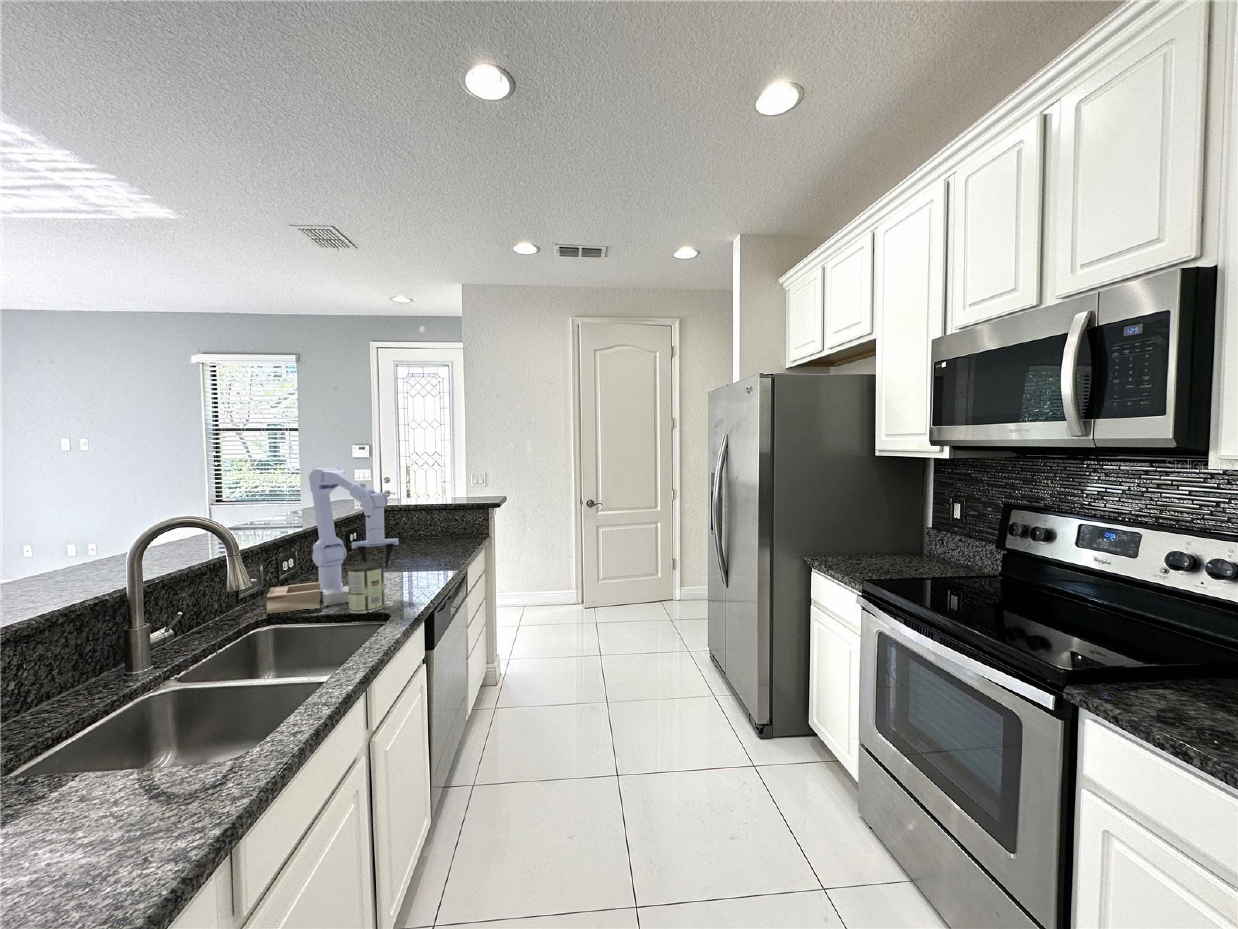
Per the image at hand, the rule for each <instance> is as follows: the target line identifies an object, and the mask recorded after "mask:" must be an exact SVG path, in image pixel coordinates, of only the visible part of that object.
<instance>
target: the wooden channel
mask: <svg viewBox="0 0 1238 929" xmlns="http://www.w3.org/2000/svg"><path fill="white" fill-rule="evenodd" d="M320 600H321V592H320V582H319V581H317V582H308V583H300V584H292V585H284V586H283V585H282V586H275V587H270V588H269V591H268V593H267V596H266V614H267V613H278V612H288V611H295V610H302V609H310V610H316V609H315V608H317V609H320V608H321V604H320V602H321V601H320ZM302 611H303V610H302ZM295 612H296V611H295ZM288 613H289V612H288Z"/></svg>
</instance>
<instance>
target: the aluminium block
mask: <svg viewBox="0 0 1238 929" xmlns="http://www.w3.org/2000/svg"><path fill="white" fill-rule="evenodd" d="M321 594H322V602H324V603H323V605H324V607H327V605H328V606H333V605H332V604H334V605H338V604H339V603H341V604H346V603H345V602H348V603H349V593H348V585H346V586H343V587H336V588H329V589H322V592H321Z"/></svg>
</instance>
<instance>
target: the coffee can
mask: <svg viewBox="0 0 1238 929" xmlns="http://www.w3.org/2000/svg"><path fill="white" fill-rule="evenodd" d="M346 568H347V569H346V570H347V583H348V585H347V586H348V593H349V602H348V612H349V613H351V614H368V613H367V612H370V611H373V610H377V609H380V610H382V609H384V608H385V592H384V591H385V590H384V589H385V588H384V562H382V561H378V560H377V561H376V560H375V561H374V560H373V561H372V560H370V561H366V562H363V561H361V562H354V563H352V564H349V565H347V566H346ZM383 607H384V608H383ZM370 613H371V612H370Z"/></svg>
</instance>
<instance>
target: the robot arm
mask: <svg viewBox="0 0 1238 929" xmlns="http://www.w3.org/2000/svg"><path fill="white" fill-rule="evenodd" d="M308 481H309V487H310V492H311V494H312V500H313V507H314V513H315V514H314V515H315V519H316V520H315V522H316V525H317V532H318V540H317V541H316V542H315V543H314V544H313V546H312V555H311V558H312V561H313V563H314V564H315V566H316V567H318V582H320V593H322V589H329V588H336V587H344V586H343V582H342V564H343V563H344V560H345V559H346V558H347V549H346V547H345V545H344V541H343V540H342V539H340V538H339V537H338V536H336V535H337V534H336V530H335V523H334V517H333V509H332V503H331V497H330V495H331V493H332V492H333V491H335V490H336V489H337V488H338V487H339V486H340V487H341V488H344V489H345V490H346V491H349V495H350V496H351V498H353V499H355V500H356V501H357V502H359V503H360V504H361V507H362V509H363V514H364V516H365V540H361V541H351V549H352V550H353V549H357V551H358V553H359V555H360V557H361V560H362V562H367V548H369V547H370V548H373V547H383V546H384V555H385V556H384V567H389V560H390V557H391V554H392V552H393V550H394V547H395V546H397V545H399V538H385V509H386V507H387V506H388V502H389V501H388V497H387V495H386V494H385V493H384V492H382V491H380V492H378V491H377V492H376V491H375V490H374V489H373V488H370V487H369V486H367V484H366V483H365V482H355V480H354V479H352V478H351V477H349V475H347V474H346V470H343V469H342V468H341V467H332V468H331V467H326V468H318V467H315V468H313V469H312V470H311V472H310V473H309V475H308ZM394 545H395V546H394Z"/></svg>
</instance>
